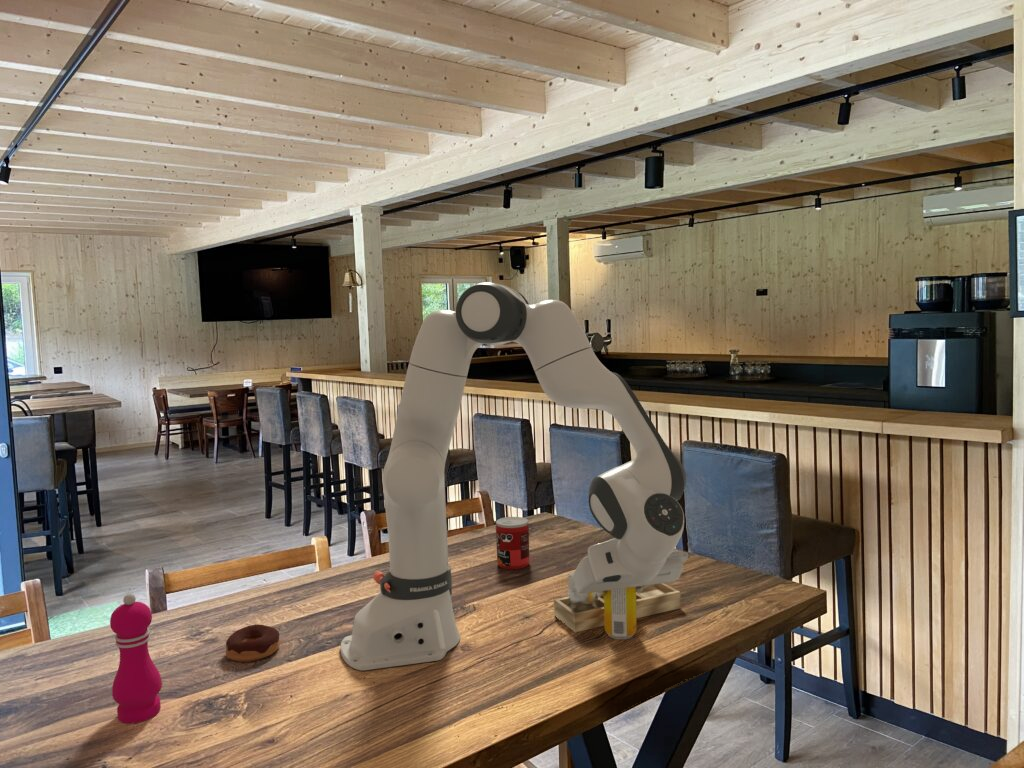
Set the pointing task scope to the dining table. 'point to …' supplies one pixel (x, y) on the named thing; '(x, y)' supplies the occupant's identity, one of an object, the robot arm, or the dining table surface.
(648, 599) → the compartment tray
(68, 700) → the dining table surface
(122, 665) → the pepper mill
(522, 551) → the canned food
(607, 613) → the beer can
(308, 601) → the dining table surface
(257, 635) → the donut
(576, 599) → the seated canisters
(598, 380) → the robot arm
